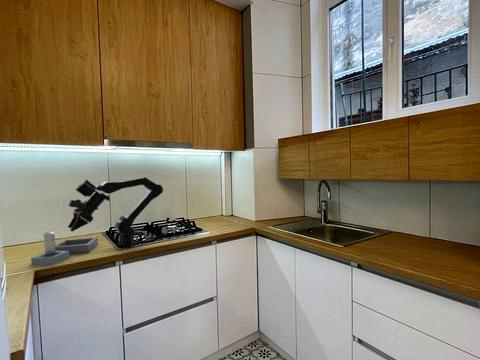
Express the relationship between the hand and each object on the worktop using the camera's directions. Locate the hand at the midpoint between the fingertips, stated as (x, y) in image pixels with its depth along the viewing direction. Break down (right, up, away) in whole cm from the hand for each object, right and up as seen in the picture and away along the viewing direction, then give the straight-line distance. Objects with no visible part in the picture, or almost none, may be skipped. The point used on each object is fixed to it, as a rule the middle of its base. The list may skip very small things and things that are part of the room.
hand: (69, 229), depth 125 cm
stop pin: (-6, -14, -4) cm, 15 cm away
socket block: (-6, -14, -4) cm, 15 cm away
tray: (-4, -13, +11) cm, 18 cm away
